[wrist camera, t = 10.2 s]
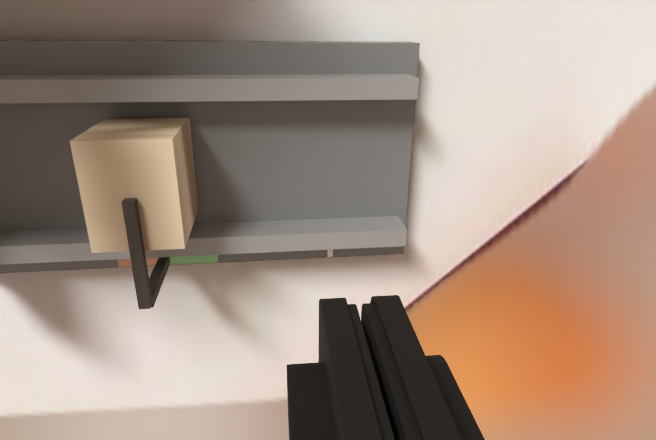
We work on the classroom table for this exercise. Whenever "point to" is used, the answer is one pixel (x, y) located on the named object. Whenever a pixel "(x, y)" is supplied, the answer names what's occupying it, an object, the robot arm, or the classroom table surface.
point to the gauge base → (215, 144)
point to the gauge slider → (138, 191)
